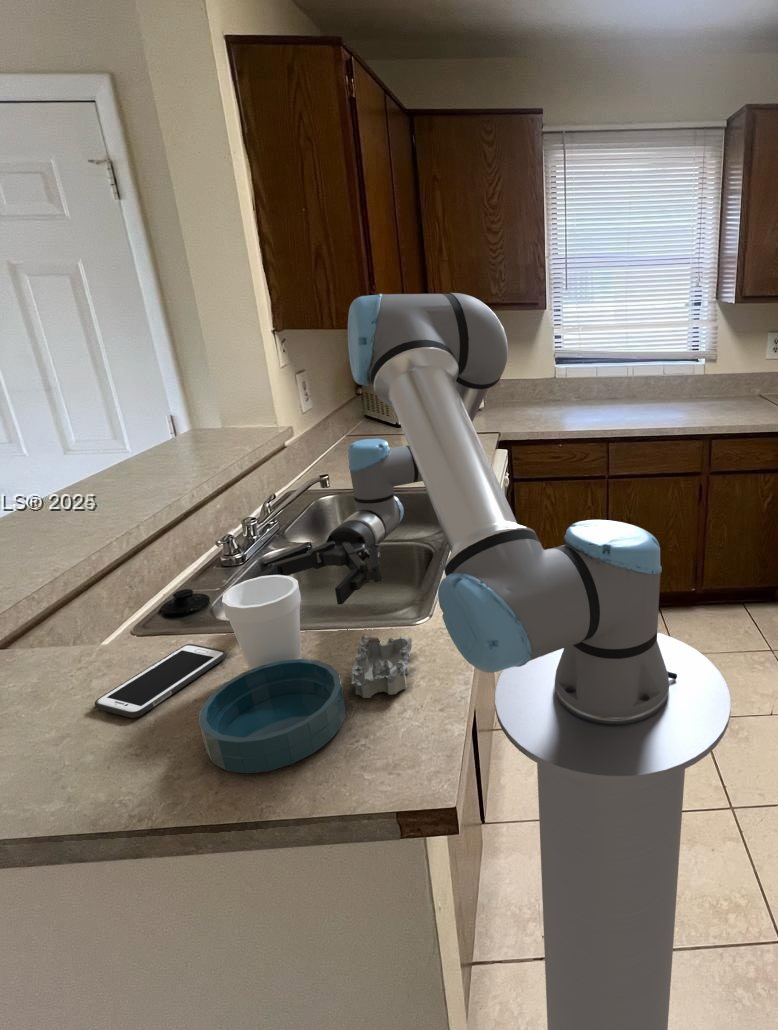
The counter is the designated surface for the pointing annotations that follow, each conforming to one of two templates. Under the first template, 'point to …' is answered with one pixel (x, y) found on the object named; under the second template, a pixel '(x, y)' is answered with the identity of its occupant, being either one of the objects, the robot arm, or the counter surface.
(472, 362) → the robot arm
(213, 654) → the cell phone
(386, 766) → the counter surface
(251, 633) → the foam cup
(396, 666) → the egg carton
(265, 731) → the bowl
